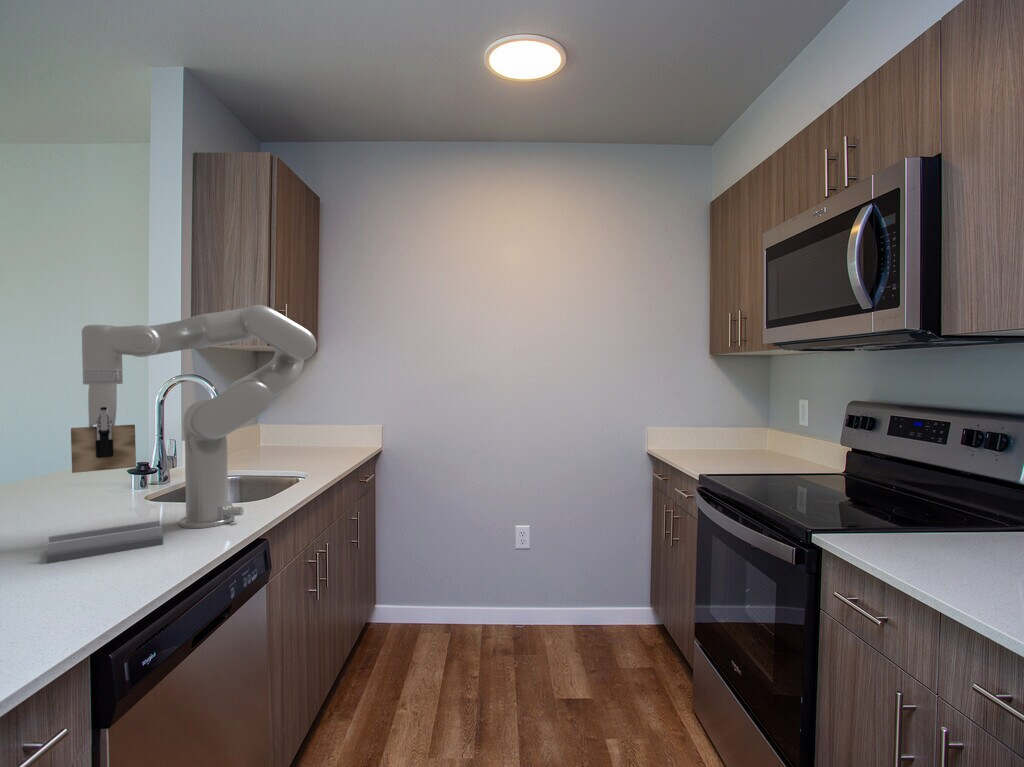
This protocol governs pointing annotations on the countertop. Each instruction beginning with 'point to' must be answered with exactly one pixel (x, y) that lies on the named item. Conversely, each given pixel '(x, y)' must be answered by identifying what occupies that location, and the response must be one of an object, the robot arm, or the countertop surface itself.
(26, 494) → the countertop surface
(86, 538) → the bottom track
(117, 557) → the countertop surface
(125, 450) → the door panel
